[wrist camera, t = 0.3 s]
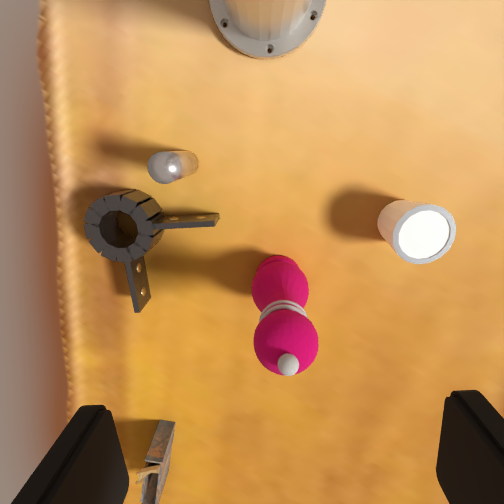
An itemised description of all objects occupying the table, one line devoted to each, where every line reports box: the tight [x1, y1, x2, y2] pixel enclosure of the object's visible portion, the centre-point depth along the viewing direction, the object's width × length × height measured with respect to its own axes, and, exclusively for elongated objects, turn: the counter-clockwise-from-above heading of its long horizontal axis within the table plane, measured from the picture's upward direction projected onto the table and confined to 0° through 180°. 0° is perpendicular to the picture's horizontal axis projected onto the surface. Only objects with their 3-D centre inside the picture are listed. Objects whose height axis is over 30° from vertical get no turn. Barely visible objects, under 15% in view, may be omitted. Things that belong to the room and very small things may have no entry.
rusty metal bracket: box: [135, 420, 175, 504], centre depth 51 cm, size 11×3×10 cm, turn 169°
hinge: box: [84, 189, 220, 313], centre depth 42 cm, size 16×16×5 cm
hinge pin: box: [148, 151, 198, 184], centre depth 36 cm, size 3×3×10 cm
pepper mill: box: [252, 256, 318, 376], centre depth 35 cm, size 7×7×20 cm
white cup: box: [377, 200, 456, 264], centre depth 38 cm, size 7×7×7 cm
